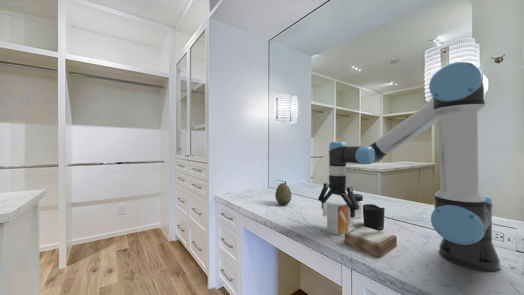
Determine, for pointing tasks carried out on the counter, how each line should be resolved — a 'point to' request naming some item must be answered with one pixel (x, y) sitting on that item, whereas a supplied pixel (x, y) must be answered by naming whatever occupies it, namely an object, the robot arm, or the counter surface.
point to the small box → (337, 217)
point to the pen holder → (373, 216)
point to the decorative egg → (283, 194)
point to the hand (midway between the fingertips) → (337, 219)
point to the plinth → (371, 241)
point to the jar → (360, 202)
